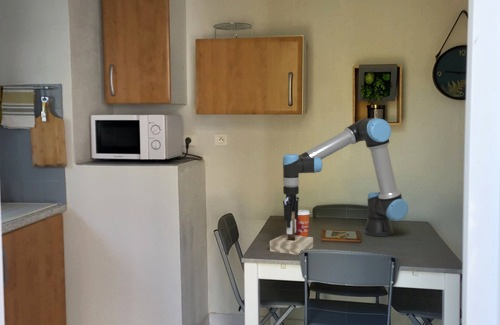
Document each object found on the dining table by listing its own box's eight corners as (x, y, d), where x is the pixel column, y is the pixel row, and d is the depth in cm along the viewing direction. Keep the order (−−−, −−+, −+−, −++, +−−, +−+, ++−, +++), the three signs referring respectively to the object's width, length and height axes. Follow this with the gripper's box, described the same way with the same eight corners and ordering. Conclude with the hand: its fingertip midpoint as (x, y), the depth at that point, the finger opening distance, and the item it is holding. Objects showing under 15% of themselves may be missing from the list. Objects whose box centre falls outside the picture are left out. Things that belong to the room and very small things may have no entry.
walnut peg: (296, 241, 246) (295, 211, 244) (293, 242, 243) (292, 212, 241) (289, 240, 248) (289, 210, 246) (286, 241, 245) (286, 211, 243)
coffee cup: (300, 241, 261) (300, 212, 260) (291, 237, 268) (291, 210, 267) (313, 239, 265) (313, 211, 263) (304, 235, 272) (304, 208, 271)
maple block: (313, 247, 248) (313, 237, 248) (299, 255, 235) (299, 244, 234) (284, 243, 256) (284, 234, 256) (269, 251, 243) (269, 241, 242)
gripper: (291, 183, 252) (291, 228, 254) (276, 187, 237) (276, 235, 240) (304, 184, 248) (305, 230, 250) (290, 188, 234) (291, 237, 236)
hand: (291, 232), depth 245 cm, fingers closed on walnut peg, 3 cm apart
